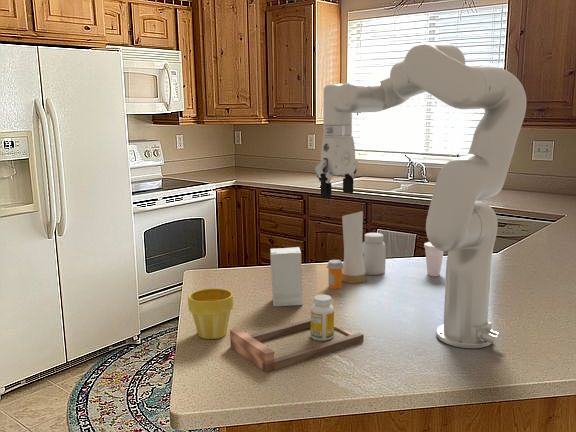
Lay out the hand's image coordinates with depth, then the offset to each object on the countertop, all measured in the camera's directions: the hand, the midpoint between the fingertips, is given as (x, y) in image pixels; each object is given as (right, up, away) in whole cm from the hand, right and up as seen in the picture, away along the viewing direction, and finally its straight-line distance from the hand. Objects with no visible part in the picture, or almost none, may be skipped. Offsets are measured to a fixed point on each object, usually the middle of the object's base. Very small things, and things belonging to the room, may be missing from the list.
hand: (337, 195), depth 157 cm
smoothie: (+32, -24, +22) cm, 46 cm away
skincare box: (-14, -29, -1) cm, 32 cm away
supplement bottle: (-6, -34, -23) cm, 41 cm away
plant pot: (-31, -34, -21) cm, 50 cm away
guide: (-11, -35, -27) cm, 45 cm away
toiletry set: (+7, -25, +19) cm, 32 cm away
